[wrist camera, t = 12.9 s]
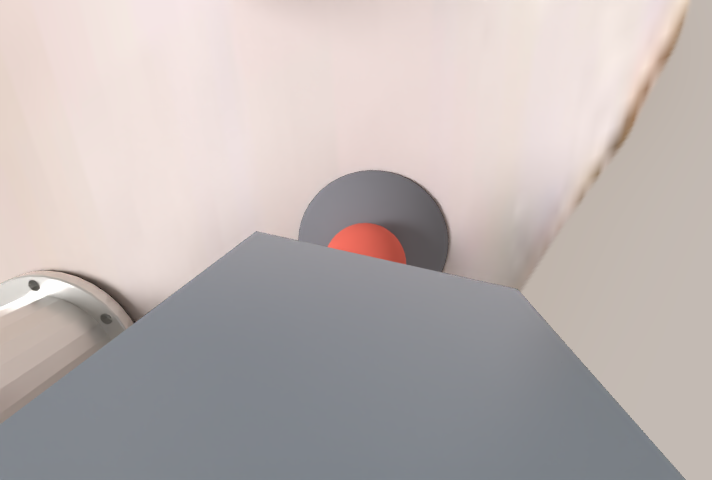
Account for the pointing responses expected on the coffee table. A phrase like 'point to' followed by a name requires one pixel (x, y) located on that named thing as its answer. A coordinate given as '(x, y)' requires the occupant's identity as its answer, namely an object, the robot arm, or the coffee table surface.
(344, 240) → the ball
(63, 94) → the coffee table surface
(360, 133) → the coffee table surface
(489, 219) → the coffee table surface
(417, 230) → the disc
